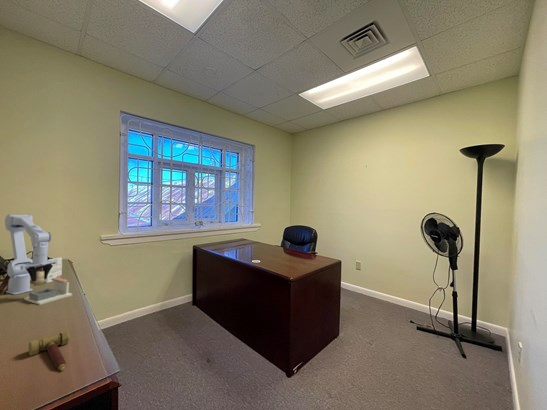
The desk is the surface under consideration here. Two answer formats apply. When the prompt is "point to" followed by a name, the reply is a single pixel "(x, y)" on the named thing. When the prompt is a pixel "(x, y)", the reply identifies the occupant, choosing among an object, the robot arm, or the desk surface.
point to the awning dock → (50, 292)
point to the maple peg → (39, 278)
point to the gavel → (51, 348)
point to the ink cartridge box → (54, 270)
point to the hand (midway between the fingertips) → (39, 279)
